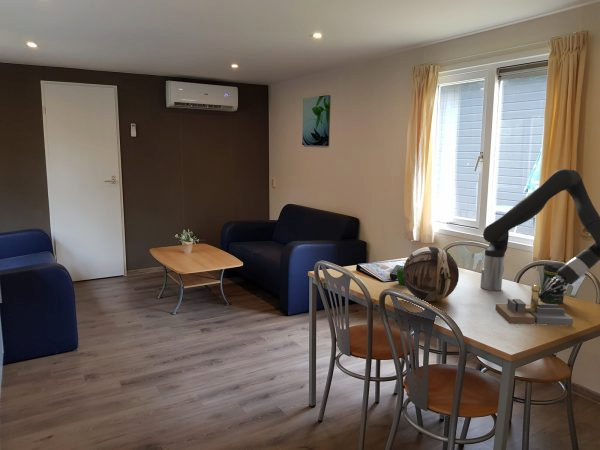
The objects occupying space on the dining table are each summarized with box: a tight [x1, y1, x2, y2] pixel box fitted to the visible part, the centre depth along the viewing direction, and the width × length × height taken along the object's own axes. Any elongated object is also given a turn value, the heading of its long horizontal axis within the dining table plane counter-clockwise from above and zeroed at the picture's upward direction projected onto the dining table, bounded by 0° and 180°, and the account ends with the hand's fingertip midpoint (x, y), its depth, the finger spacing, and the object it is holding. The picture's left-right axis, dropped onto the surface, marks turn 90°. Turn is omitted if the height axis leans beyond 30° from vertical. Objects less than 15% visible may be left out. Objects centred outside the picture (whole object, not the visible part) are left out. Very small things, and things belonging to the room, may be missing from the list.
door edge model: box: [494, 298, 574, 326], centre depth 197 cm, size 25×16×7 cm, turn 87°
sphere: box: [402, 246, 460, 302], centre depth 216 cm, size 25×25×25 cm
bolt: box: [516, 284, 542, 312], centre depth 196 cm, size 9×3×11 cm, turn 87°
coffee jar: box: [540, 262, 566, 304], centre depth 217 cm, size 10×8×19 cm
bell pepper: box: [396, 267, 406, 286], centre depth 242 cm, size 8×8×10 cm
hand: (539, 297), depth 196 cm, fingers closed
